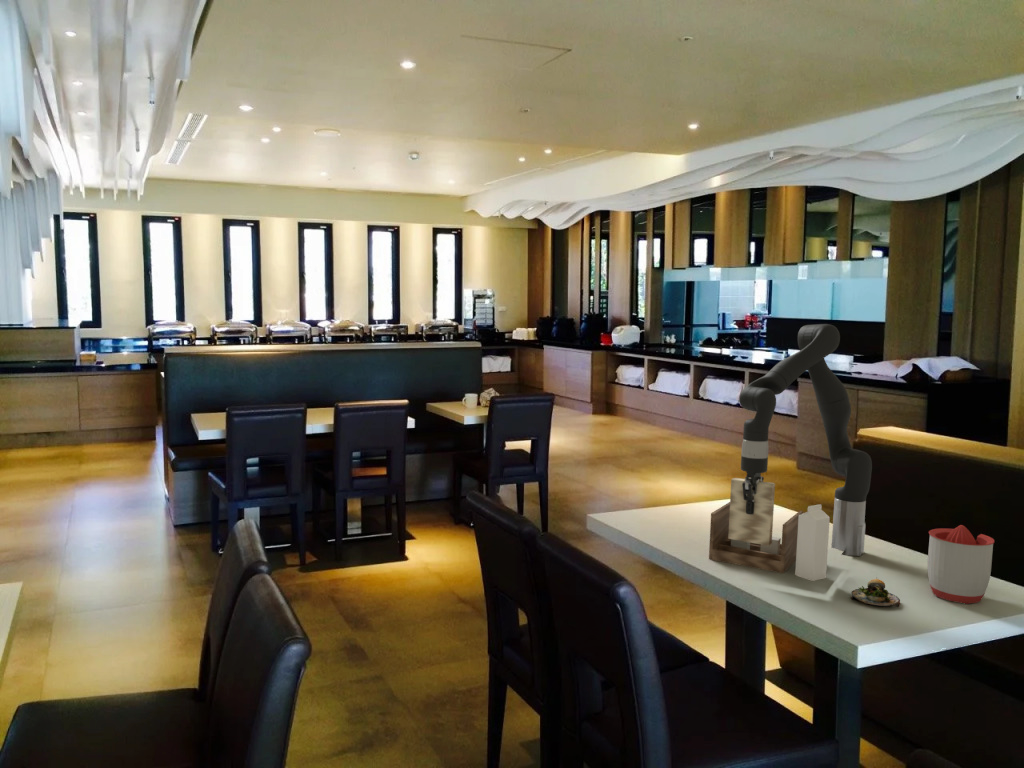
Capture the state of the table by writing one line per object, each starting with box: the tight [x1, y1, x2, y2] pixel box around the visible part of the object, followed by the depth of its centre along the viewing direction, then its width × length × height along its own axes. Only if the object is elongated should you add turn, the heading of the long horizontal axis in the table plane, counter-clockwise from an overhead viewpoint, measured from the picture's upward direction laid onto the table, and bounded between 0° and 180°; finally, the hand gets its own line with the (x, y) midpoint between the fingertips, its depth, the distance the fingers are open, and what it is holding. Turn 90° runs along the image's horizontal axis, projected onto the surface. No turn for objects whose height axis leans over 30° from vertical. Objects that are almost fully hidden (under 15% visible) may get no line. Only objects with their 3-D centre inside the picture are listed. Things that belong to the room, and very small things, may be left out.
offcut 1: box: [731, 539, 750, 550], centre depth 249 cm, size 5×3×7 cm, turn 57°
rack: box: [708, 501, 804, 574], centre depth 247 cm, size 22×20×16 cm
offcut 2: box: [760, 536, 782, 555], centre depth 244 cm, size 5×3×7 cm, turn 57°
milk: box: [794, 504, 831, 582], centre depth 230 cm, size 6×6×22 cm
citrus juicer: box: [927, 524, 995, 605], centre depth 221 cm, size 16×17×20 cm
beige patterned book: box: [728, 477, 776, 546], centre depth 241 cm, size 12×3×18 cm, turn 57°
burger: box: [850, 578, 901, 608], centre depth 216 cm, size 12×12×8 cm
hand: (751, 512), depth 241 cm, fingers closed on beige patterned book, 3 cm apart
